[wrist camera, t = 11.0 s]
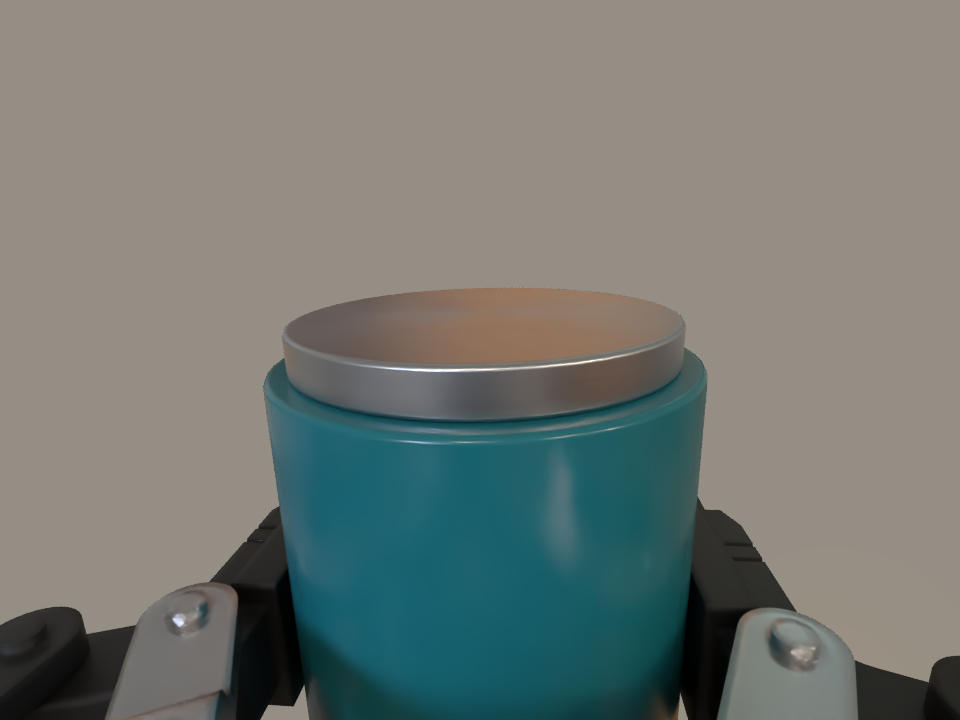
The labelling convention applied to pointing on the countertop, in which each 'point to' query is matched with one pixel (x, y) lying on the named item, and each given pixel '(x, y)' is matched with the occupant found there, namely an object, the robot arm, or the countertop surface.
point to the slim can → (489, 503)
